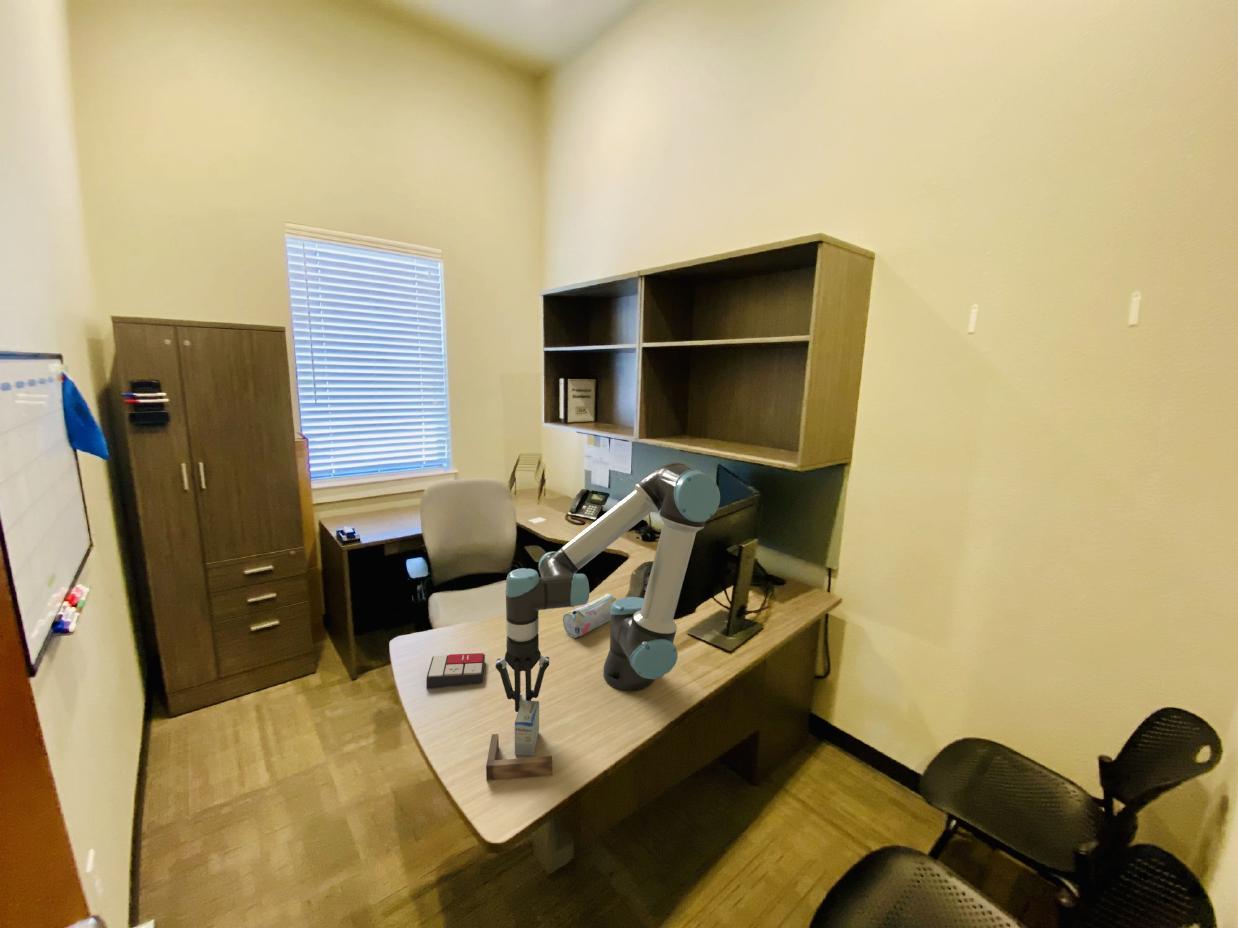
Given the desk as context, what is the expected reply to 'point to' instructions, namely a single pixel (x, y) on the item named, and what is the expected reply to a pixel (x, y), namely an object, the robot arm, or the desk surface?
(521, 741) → the medicine box
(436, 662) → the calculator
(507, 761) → the corner fence
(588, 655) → the desk surface
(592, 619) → the pencil case
